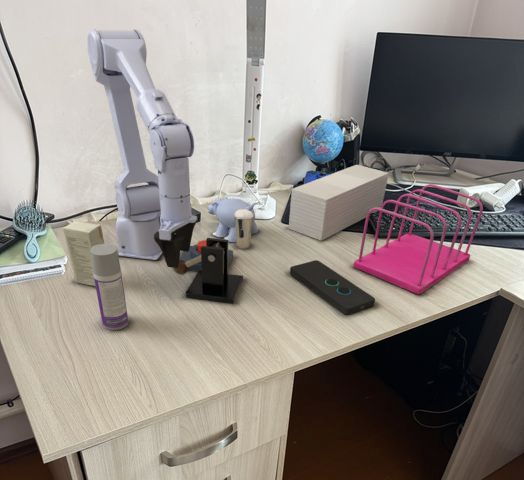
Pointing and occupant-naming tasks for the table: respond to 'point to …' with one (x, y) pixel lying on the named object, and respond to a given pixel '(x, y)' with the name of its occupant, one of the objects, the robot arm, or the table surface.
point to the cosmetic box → (82, 248)
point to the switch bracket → (215, 275)
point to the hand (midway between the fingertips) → (178, 258)
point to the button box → (194, 253)
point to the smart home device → (332, 287)
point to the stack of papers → (336, 201)
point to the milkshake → (243, 227)
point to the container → (109, 286)
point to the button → (200, 244)
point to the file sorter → (416, 247)
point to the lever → (190, 262)
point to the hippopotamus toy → (229, 216)
